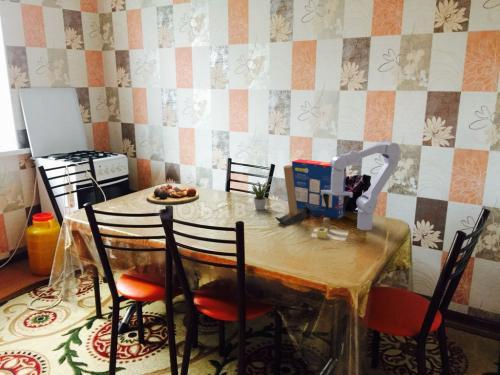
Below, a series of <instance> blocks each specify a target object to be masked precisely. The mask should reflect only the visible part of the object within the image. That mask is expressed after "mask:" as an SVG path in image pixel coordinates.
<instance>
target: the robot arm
mask: <svg viewBox="0 0 500 375" xmlns="http://www.w3.org/2000/svg"><path fill="white" fill-rule="evenodd" d="M401 153H402V151H401V148H400V146H399V144H398V143H396V142H391V141H389V140H382V141H378V142H376V143H375V144H372V145H370V146H368V147H366V148H364V149H361V150H359V151H357V150H355V149H354V150H352V149H351V150H349V152H347V153H343V154H340V156H333V157H332V159H330V162H329V163H330V165H331V167H332V173H331V190H321V195H323V199H324V201H325V204H326V210H328V209H329V195H335V196H345V197H344V204H343V212H344V213H345V212H346V207H347V204H348V202H349V200H350V198H353V194H354V193H353V192H352V191H346V190H345V191H343V181H344V169H345V168H346V169H347V167H349V166H352V165H354V164H357V163H360V162H361V159H362V158H363V159H364V158H366V157H369V156H371V155H375V154H381V156H382V157H383V161H384V164H382V167H381V168H380V170H379V172H378V173H377V175H376V176H375V178H374V180H373V181H372V183H371V184H370V186H369V187H368V190H366V191H364V192H363V193H362V195H361V196H359V197H358V198H357V199H356V202H355V203H356V207H357V208H358V209H357V220H356V228H357V230H361V231H371V230H373V225H374V224H373V223H374V213H375V210H376V208H377V205H378V203H379V195H380V194H381V192H382V191H383V189H384V188H385V185H386V184H387V182H388V181H389V179H390V177H391V176H392V174H393V173H394V171H395V170H396V168H397V167H398V164H399V158H400V154H401Z"/></svg>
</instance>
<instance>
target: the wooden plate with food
mask: <svg viewBox="0 0 500 375" xmlns="http://www.w3.org/2000/svg"><path fill="white" fill-rule="evenodd" d="M199 197H200V193H199V192H198V191H197V190H196V188H193V187H190V188H187V187H186V188H179V187H178V186H175V187H174V188H173V185H171V184H170V183H169V184H167V185H166V186H165V185H161V186H160V187H157V188H155V189H154V191H153V192H151V193H150V194H148V195H147V199H148V200H149V201H151V202H150V203H152V202H155V203H154V204H157V203H159V205H174V204H176V205H177V204H185V203H190V202H193V201H195V200H197V199H198V198H199ZM148 200H147V201H148ZM149 201H148V202H149Z"/></svg>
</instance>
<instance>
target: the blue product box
mask: <svg viewBox="0 0 500 375" xmlns="http://www.w3.org/2000/svg"><path fill="white" fill-rule="evenodd" d="M291 166H292V171H293V179H294V187H295V196H296V204H297V209H298V208H300V209H303V208H304V207H308V208H309V210H310V214H309V215H312V216H317V217H322V218H330V219H336V220H339V219H341V218H343V217H344V216H345V211H344V212H343V204H344V197H345V196H335V195H329V209H328V210H326V204H325V201H324V199H323V195H321V190H331V173H332V167H331V165H330V162H327V161H318V160H311V159H310V160H309V159H295V160H292V161H291ZM346 175H347V167H346V168H345V169H344V181H343V191H346V179H347V178H346V177H347V176H346Z"/></svg>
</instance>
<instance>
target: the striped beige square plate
mask: <svg viewBox="0 0 500 375" xmlns="http://www.w3.org/2000/svg"><path fill="white" fill-rule="evenodd" d="M319 228H320V227H315V228H314V229H313V231H312V232H311V234H310V235H309V238H313V239H319V238H318V237H317V230H318V229H319ZM349 233H350V231H349V230H341V229H333V228H329V231H328V234H327V237H326V238H321V239H324V240H330V241H331V240H332V241H339V242H340V241H341V242H346V240H347V237H348V235H349Z"/></svg>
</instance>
